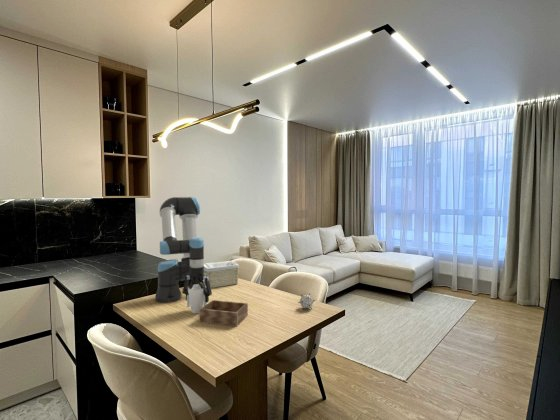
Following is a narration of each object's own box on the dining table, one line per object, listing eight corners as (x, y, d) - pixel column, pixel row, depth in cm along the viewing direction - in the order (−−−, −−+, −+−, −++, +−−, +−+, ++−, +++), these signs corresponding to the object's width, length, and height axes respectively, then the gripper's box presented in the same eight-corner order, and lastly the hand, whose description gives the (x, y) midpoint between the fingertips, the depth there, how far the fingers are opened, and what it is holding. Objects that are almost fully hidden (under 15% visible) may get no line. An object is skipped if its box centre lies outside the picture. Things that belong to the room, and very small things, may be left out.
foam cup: (201, 314, 159) (200, 290, 158) (185, 313, 160) (184, 289, 160) (208, 308, 168) (208, 285, 167) (193, 307, 170) (193, 284, 169)
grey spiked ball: (303, 315, 167) (292, 300, 169) (311, 306, 173) (301, 291, 174) (312, 311, 161) (301, 296, 162) (320, 302, 167) (310, 287, 168)
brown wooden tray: (199, 322, 149) (199, 309, 149) (213, 311, 163) (213, 300, 163) (237, 326, 144) (237, 313, 144) (247, 315, 158) (247, 303, 157)
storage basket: (206, 289, 204) (206, 267, 204) (201, 283, 219) (201, 263, 218) (239, 284, 215) (239, 264, 214) (232, 279, 230) (232, 260, 229)
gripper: (174, 266, 163) (175, 307, 163) (211, 269, 157) (212, 311, 158) (182, 263, 170) (183, 303, 171) (218, 266, 164) (218, 306, 165)
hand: (197, 307), depth 164 cm, fingers closed on foam cup, 9 cm apart
